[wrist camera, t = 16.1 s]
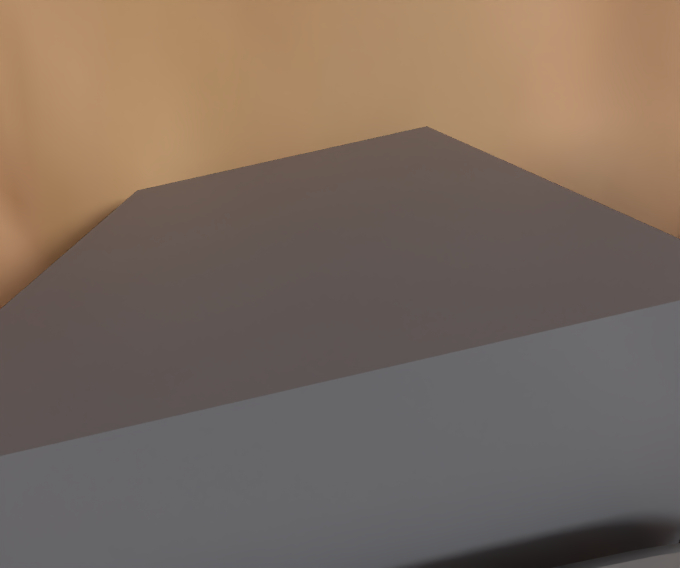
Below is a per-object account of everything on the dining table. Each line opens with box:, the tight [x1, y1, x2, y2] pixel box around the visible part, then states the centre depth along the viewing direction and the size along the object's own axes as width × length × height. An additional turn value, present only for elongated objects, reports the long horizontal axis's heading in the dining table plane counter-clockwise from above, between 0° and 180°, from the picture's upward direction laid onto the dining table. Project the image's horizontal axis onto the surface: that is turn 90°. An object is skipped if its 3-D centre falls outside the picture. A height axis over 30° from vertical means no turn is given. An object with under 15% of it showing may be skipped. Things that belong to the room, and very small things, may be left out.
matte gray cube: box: [0, 126, 680, 568], centre depth 9 cm, size 8×8×9 cm
